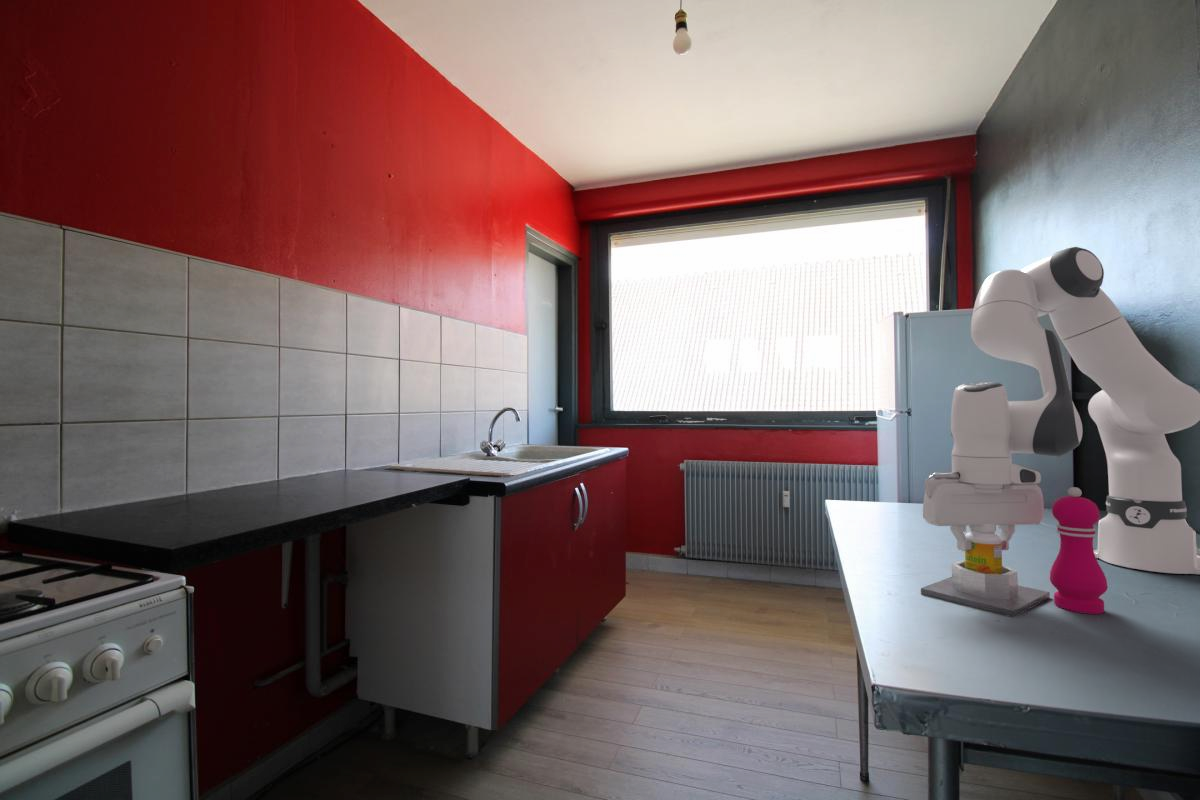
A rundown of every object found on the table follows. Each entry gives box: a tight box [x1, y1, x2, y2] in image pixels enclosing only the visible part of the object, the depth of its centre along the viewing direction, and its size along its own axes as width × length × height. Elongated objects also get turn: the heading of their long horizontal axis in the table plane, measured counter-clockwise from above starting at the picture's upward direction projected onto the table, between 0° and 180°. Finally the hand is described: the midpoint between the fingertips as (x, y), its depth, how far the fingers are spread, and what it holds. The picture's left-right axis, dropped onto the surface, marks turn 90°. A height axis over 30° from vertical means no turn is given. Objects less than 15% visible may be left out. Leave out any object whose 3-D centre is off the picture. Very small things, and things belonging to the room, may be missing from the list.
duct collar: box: [920, 560, 1051, 618], centre depth 96 cm, size 16×14×5 cm
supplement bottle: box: [964, 524, 1003, 573], centre depth 97 cm, size 5×5×10 cm
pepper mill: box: [1049, 486, 1108, 615], centre depth 90 cm, size 7×7×20 cm
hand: (983, 549), depth 97 cm, fingers closed on supplement bottle, 5 cm apart
